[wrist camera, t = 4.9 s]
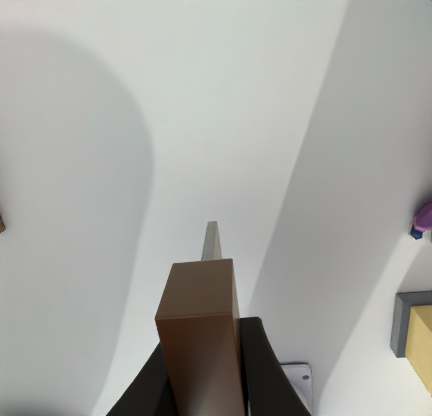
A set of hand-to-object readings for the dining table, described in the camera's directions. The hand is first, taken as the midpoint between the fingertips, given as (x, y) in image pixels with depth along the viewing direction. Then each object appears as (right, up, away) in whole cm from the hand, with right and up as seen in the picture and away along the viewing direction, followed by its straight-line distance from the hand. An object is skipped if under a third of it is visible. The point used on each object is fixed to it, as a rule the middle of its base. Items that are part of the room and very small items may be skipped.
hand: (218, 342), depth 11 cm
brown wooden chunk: (0, +1, +3) cm, 4 cm away
